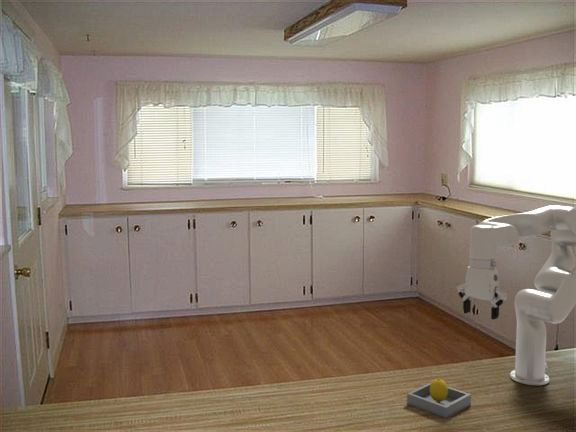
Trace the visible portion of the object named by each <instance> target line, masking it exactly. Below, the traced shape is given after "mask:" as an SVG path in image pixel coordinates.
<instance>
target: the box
mask: <svg viewBox="0 0 576 432" xmlns="http://www.w3.org/2000/svg"><path fill="white" fill-rule="evenodd" d="M431 383H432V381H431V382H429V383H426V384H424V385H423V386H420V387H417V388H416V389H413V390H412V391H410V392H407V394H406V405H407V406H411V407H412V408H413V407H414V408H416V409H418V410H421V411H423V412H427V413H429V414H432V415H434V416H437V417H439V418H443V419H445V420H447V419H448V418H450V417H452V416H455V415H456V414H458V413H460V412H461V411H463V410H465V409H467V408H468V407H470V406H471V404H472V403H471V402H472V394H471V393H468V392H465V391H462V390H459V389H456V388H454V387H450V386H447V388H448V395H447V397H446V399H445V400H444V401H441V402H440V403H437V401H435V400H433V399H432V397H431V395H430V385H431Z"/></svg>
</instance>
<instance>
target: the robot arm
mask: <svg viewBox="0 0 576 432" xmlns="http://www.w3.org/2000/svg"><path fill="white" fill-rule="evenodd" d="M469 230H470V232H469V233H470V234H469V236H470V239H469V240H470V241H469V266H467V269H466V274H465V281H464V283H461V284H459V285H456V287H455V288H456V291H457V292H458V296H459V297H460V298H461V301H462V306H463V307H462V308H463V309H462V310H463V314H468V313H470V312H471V310H472V309H471V308H472V306H471V304H472V301H471V298H473V299H478V300H484V301H489V302H490V304H491V305H492V306H491V313H490V315H491V316H490V318H491V320H496V319H498V318H499V316H500V307H501V306H502V304H504V303H506V302H505V301H506V300H507V298H508V296H509V295H508V294H507V293H506V292H505V291H503V290H502V289H500V281H499V273H498V268H495V267H498V266H499V262H498V261H496V259H495V258H496V257H495V253H496V252H495V249H496V248H497V247H498V248H509V247H512V246H514V245H516V244H517V242H518V241H519V238H533V237H537V236H540V235H543V234H546V233H549V232H550V240H551V253H550V256H549V257H548V258H547V260H546V262H545V263H544V264H543V266H542V267H541V269H540V270H539V272H538V273H537V274H536V276H535V278H534V281H533V284H534V287H535V288H536V289H532V288H524V289H521V290H519V291H518V292H517V293H516V295H515V298H514V310H515V316H516V334H515V335H516V337H515V339H516V341H515V360H514V361H515V365H514V366H515V369H513V370H512V371H510V374H509V375H510V376H509V377H510V378H511V379H512V380H513V381H515V382H517V383H520V384H523V385H527V386H543V385H547V384H549V383H550V377H549V375H547V374H546V369H547V368H548V363H547V362H546V355H547V354H546V351H547V327H546V323H549V324H553V325H554V324H555V325H557V324H560V323H563V321H565V319H567V317H568V316H569V314H570V313H571V312H572V310H573V309H574V307H575V305H576V271H575V270H573V269H574V268H575V266H576V257H575V255H574V252H573V249H572V247H575V248H576V207H575V206H566V205H557V204H556V205H555V204H554V205H551V204H550V205H546V206H543V207H539V208H536V209H534V210H533V209H532V210H530V211H527V212H520V213H514V214H506V215H500V216H495V217H491V218H488V219H484V220H482V221H480V222H479V223H478V224H475V225H472V226H471V227H470V229H469ZM463 289H464V290H463ZM499 297H500V298H499ZM498 298H499V299H498ZM545 322H546V323H545Z"/></svg>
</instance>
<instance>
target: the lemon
mask: <svg viewBox="0 0 576 432" xmlns="http://www.w3.org/2000/svg"><path fill="white" fill-rule="evenodd" d="M431 382H432V383H431ZM431 382H430V383H431V385H430V395H431V397H432V399H433V400H435V401H437V403H440V402H441V401H444V400H445V399H446V397H447V395H448V388H447V387H448V384H447V382H446V381H444V380H443V379H441V378H440V377H438V378H435V379H433V380H432V381H431Z"/></svg>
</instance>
